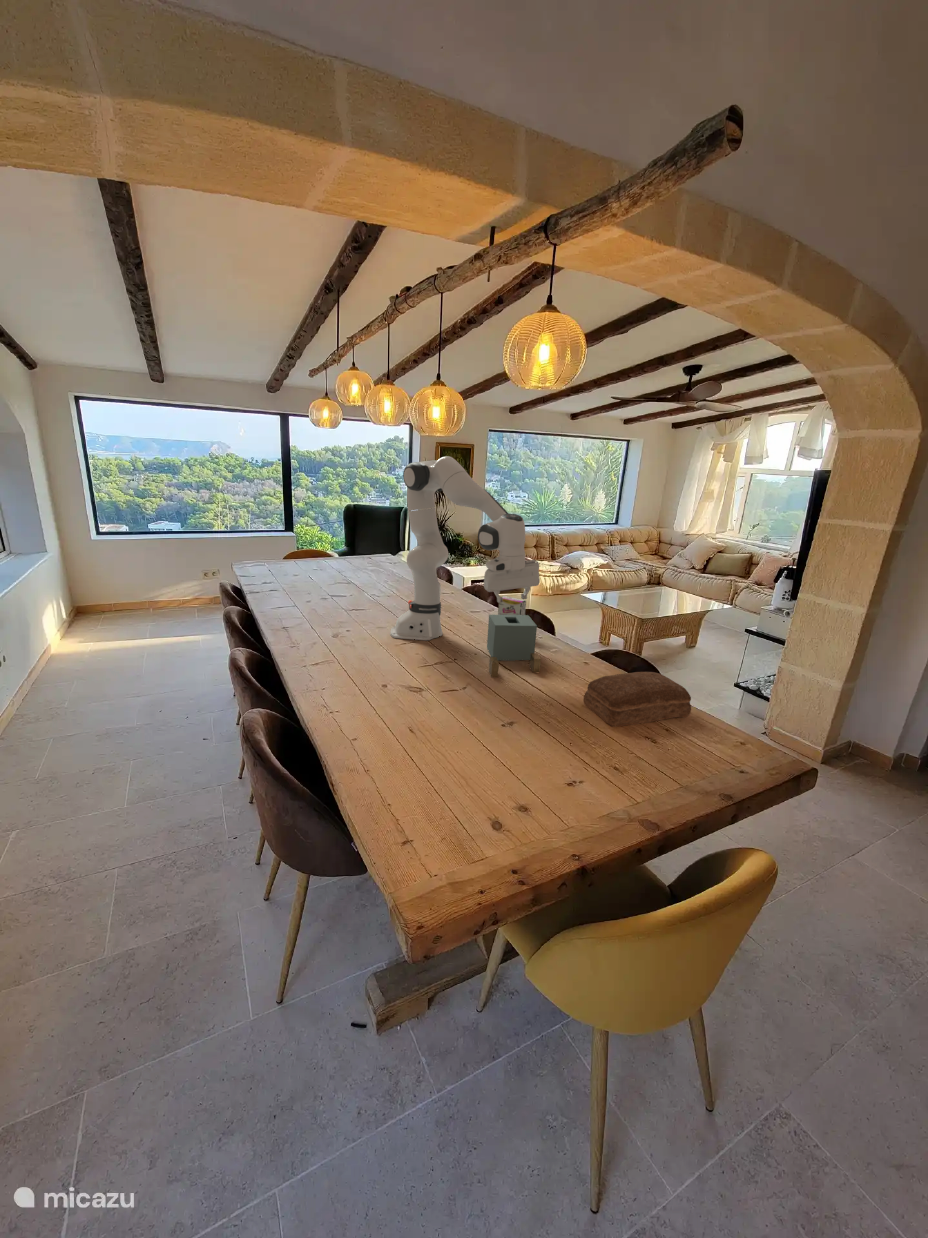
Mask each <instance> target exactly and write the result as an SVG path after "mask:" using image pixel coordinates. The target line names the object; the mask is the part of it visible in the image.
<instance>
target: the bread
mask: <svg viewBox="0 0 928 1238" xmlns="http://www.w3.org/2000/svg"><path fill="white" fill-rule="evenodd" d="M691 700H692V696H691V695H690V693H689V691H688V690H687V689H686V688H685V687H683V686H682V685H681V684H679V683H678V682H676V681H674V680H673V679H670V678H669V677H667V676H665V675H664V674H662V673H658V672H654V671H635V672H629V673H628V672H627V673H618V674H615V675H614V674H613V675H605V676H604V675H603V676H601V677H599V678H597V679H594V680H592V681H590V682H589V683H588V685H587V690H586V691H585V693H584V695H583V704H584V705H585V706H586V707H587V708H588V707H589V708H588V709H589V710H591V711H592V712H593V713H595V714H596V715H597V716H598V717H599V718H601V720H603V721H604V722H605V723H606V724H608V725H609V726H611V727H621V726H622V727H623V726H630V725H637V724H643V723H644V724H646V723H650V722H657V721H661V720H667V719H672V718H686V717H688V716H690V714H691V711H692V704H691V703H690V702H691Z"/></svg>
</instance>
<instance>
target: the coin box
mask: <svg viewBox="0 0 928 1238" xmlns="http://www.w3.org/2000/svg"><path fill="white" fill-rule="evenodd" d="M487 627H488V628H487V641H486V649H487V651H488V650H489V651H488V653H489V655H491V656H490V657H496V658H497V660H498V661H515V660H530V655H531V653H536V652H535V649H536V643H537V642H536V640H537V632H538V631H537V629H538V625H537V624H536V623H535V622H534V621H533V620H532V618H531V617H530V616H529V615H528V614H527V615H526V614H525V615H498V614H488V626H487Z"/></svg>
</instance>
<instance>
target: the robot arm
mask: <svg viewBox="0 0 928 1238" xmlns="http://www.w3.org/2000/svg"><path fill="white" fill-rule="evenodd" d="M402 477H403V478H402V479H403V482H404V484H405V486H406V488H407V489H406V490H407V493H406V499H407V500H406V501H407V502H406V504H407V513H408V519H409V526H410V531H411V532H412V533H413V535H414V537H415V539H416V541H417V543H418V545H417V546H414V547H413V548H412V549H411V550H410V551H409V552H408V553H407V555H406V564H407V567H408V568H409V569H410V571H411V574H412V580H413V586H414V587H413V591H414V592H413V595H414V596H413V600H412V599H410V600H408V602H407V604H408V610H406V611H405V612H404V613H403V614H400V616H398V617H397V619H396V623H395V626H393V627H391V629H390V634H389V635H390V636H391V638H394V639H400V640H401V639H402V640H414V639H415V641H418V640H419V641H431V640H433V639H435V638H436V639H437V638H439V636H440V637H441V636H443V629H442V623H441V613H442V602H441V588H442V587H441V582H440V581H439V579H438V574H437V569H438V568H439V567H441V566H443V565H444V564H445V562H447V560H448V558H449V551H448V547H447V546H446V545H445V544H444V541H443V538H442V535H441V531H440V529H439V526H438V525H439V524H438V519H437V518H438V517H437V511H436V505H435V499H434V498H435V497H434V495H435V493H436V492H437V491H438V492H443V493H444V494H445V496H446V497H447V499H448V500H449V501H451V503H452V504H454V505H456V506H460V507H465V508H472V509H477V510H479V511H481V512H483V513H485V514H486V516H487V517H488V518H489V519H490V520H491V522H487V523H484V524H482V525H481V526H480V527H479V529H478V532H477V541H478V544H479V545H480V547H481V548H482V549H483V550H484V551H485V550H486V551H495V550H498V551H499V556H497V557H495V558H494V559H493V558H492V559H490V560H489V561H487V562H486V563H485V567H486V570H485V572H484V576H483V588H484V590H486V591H487V592H489V593H494V595H495V597H496V602H497V603H498V604H499V603H501V602H503V598H502V597H503V596H501V595H500V594H501V591H509V590H514V589H524V591H523V593H521V594H520V595H521V598H520V599H522V600H527V599H528V594H529V593H530V590H531V588H532V587H537V586H539V584H540V563H539V561H537V560H536V559H532V560H531V559H530V560H526V551H525V544H526V524H525V521H524V519H523V517H522V516H521V515H519V514H515V513H509V512H508V511H507V510H506V509H505V508H504V507H503V506H502V505H501V504H500V502H499V501H497V499H496V498H494V496H493V495H491V493H490V492H489V491H487V490H486V489H485V488H483V487H482V486H481V485H480V484H478V483H477V482H476V481H475V480H474V479H473V477H471V476H470V474H469V473H468V472H467V470H466V469H465V468H464V467H463V466H462V465H461V464H460V463H459V462H458V461H457V460H456V459H455V458H453V457H452V456H449V455H448V456H447V455H445V456H442V457H440V458H438V460H434V459H433V460H432V459H430V460H425V461H424V460H423V461H414V462H410V463H409V464H407V465H406V466H405V467H404V470H403V472H402Z"/></svg>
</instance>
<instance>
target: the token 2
mask: <svg viewBox="0 0 928 1238" xmlns="http://www.w3.org/2000/svg"><path fill="white" fill-rule="evenodd" d="M541 662H542V658H541V657H540V655H539V654H538V653H537V652H534V653H531V655H530V661H529V669H530V668H531V669H530V671H531V672H532V673H533V672H541Z"/></svg>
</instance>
